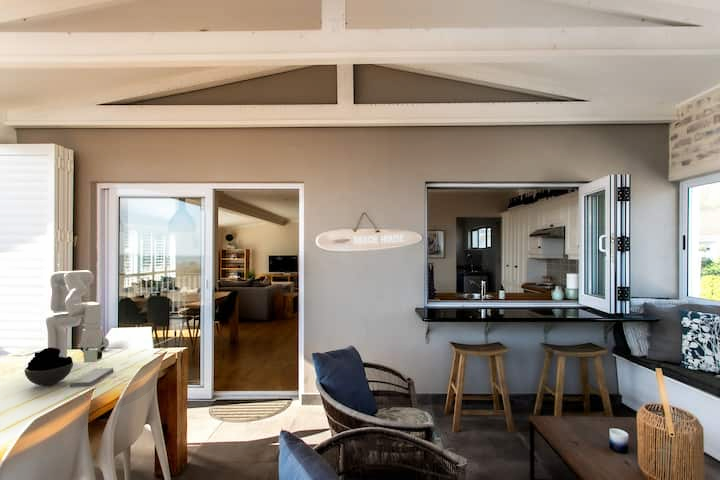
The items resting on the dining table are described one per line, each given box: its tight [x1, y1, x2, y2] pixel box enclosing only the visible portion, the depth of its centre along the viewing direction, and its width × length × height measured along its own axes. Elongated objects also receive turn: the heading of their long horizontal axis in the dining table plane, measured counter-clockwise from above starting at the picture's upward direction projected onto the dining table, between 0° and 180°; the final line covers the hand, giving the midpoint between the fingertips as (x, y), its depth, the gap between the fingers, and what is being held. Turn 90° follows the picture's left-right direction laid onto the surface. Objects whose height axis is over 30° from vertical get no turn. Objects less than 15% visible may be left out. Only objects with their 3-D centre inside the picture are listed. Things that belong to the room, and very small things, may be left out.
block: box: [83, 348, 103, 363], centre depth 212 cm, size 6×6×6 cm
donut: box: [92, 336, 110, 351], centre depth 271 cm, size 10×4×10 cm, turn 117°
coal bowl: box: [24, 347, 74, 387], centre depth 204 cm, size 20×20×19 cm
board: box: [69, 367, 114, 388], centre depth 212 cm, size 10×24×2 cm, turn 8°
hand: (93, 358), depth 212 cm, fingers closed on block, 6 cm apart
